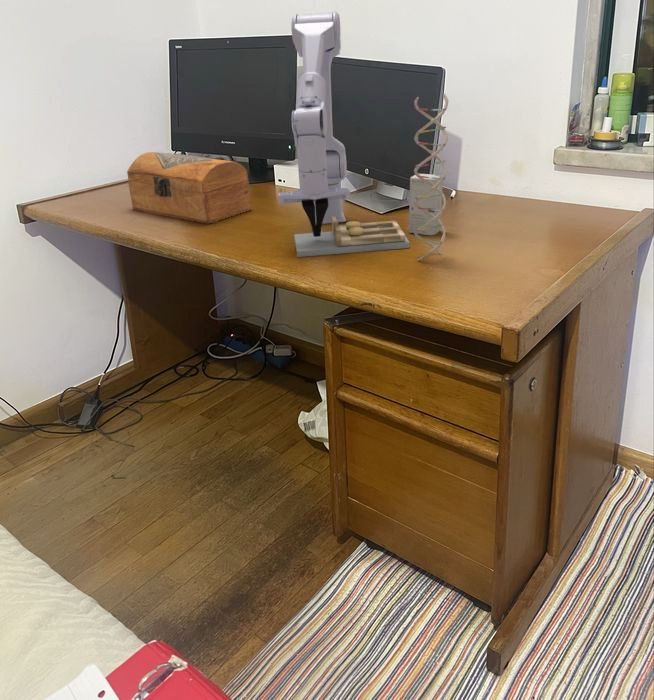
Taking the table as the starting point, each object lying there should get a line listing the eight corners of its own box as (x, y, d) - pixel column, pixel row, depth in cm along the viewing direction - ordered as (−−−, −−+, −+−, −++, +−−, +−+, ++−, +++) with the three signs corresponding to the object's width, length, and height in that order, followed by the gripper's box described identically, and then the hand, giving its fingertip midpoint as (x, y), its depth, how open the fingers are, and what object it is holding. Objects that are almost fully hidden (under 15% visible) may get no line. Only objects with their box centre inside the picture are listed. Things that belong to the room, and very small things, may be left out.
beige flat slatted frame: (332, 231, 149) (331, 216, 148) (395, 225, 150) (395, 211, 149) (337, 246, 139) (336, 231, 138) (405, 240, 140) (405, 225, 139)
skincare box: (408, 233, 149) (407, 177, 144) (416, 227, 153) (416, 172, 147) (434, 236, 146) (435, 179, 141) (442, 230, 150) (443, 174, 145)
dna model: (433, 250, 138) (435, 92, 125) (453, 258, 133) (457, 94, 120) (405, 256, 135) (404, 95, 122) (424, 265, 130) (426, 98, 117)
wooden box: (129, 211, 182) (119, 158, 176) (178, 197, 193) (170, 146, 187) (203, 227, 164) (195, 168, 158) (253, 211, 175) (247, 155, 169)
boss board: (294, 239, 150) (293, 223, 148) (398, 231, 151) (398, 214, 149) (297, 257, 139) (296, 239, 137) (409, 247, 140) (409, 230, 139)
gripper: (277, 176, 134) (282, 243, 140) (350, 170, 134) (353, 237, 140) (276, 169, 140) (281, 233, 146) (346, 163, 141) (349, 228, 147)
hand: (316, 235), depth 144 cm, fingers closed
